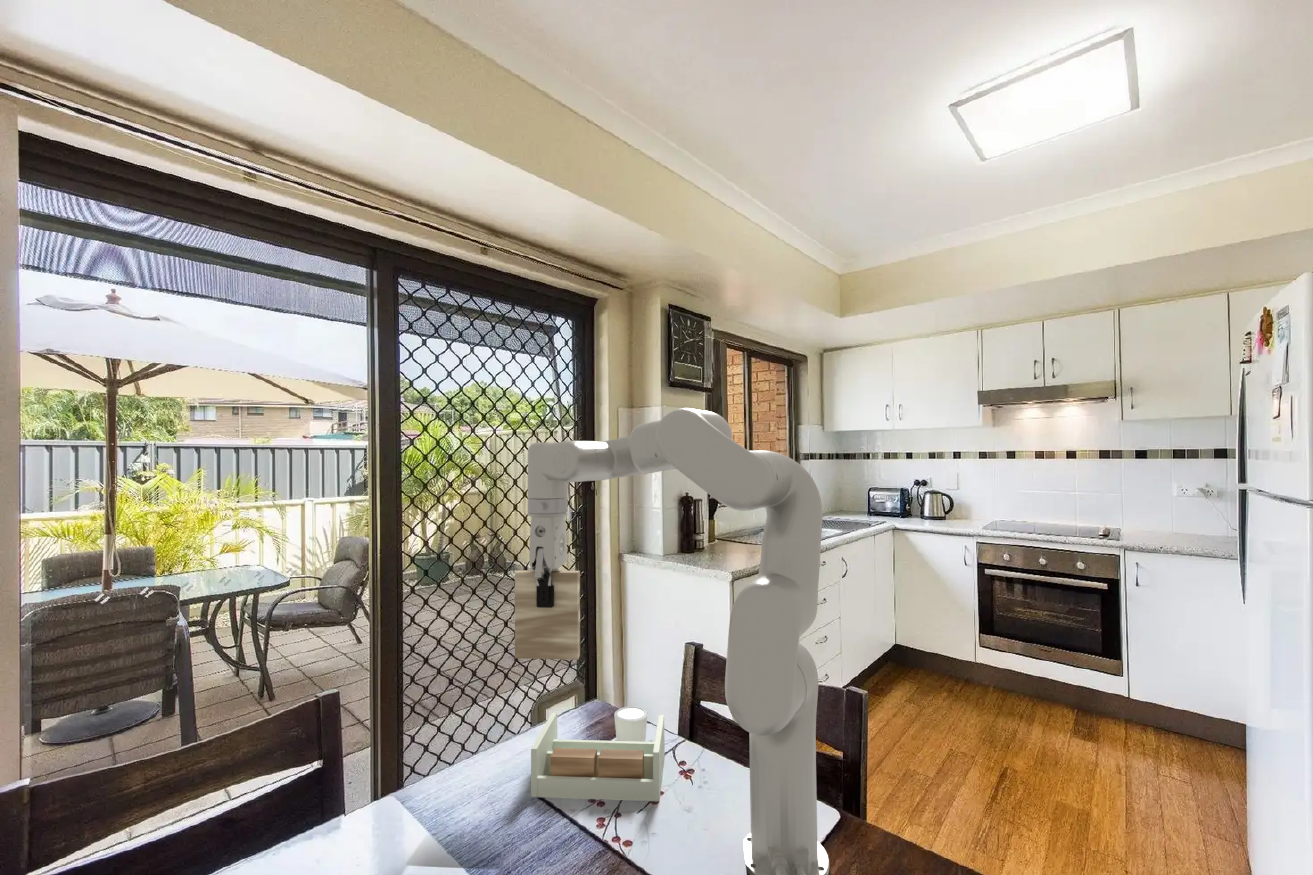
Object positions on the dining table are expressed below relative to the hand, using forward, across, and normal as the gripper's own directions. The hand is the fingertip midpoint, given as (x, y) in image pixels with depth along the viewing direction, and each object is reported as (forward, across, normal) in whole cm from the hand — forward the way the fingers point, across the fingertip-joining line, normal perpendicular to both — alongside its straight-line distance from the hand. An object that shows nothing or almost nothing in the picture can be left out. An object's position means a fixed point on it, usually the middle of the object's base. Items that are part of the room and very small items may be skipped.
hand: (547, 604), depth 106 cm
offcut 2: (+30, -6, -15) cm, 34 cm away
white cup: (+32, +11, -14) cm, 37 cm away
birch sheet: (+10, 0, 0) cm, 10 cm away
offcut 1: (+30, -6, -7) cm, 31 cm away
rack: (+32, -2, -11) cm, 33 cm away
